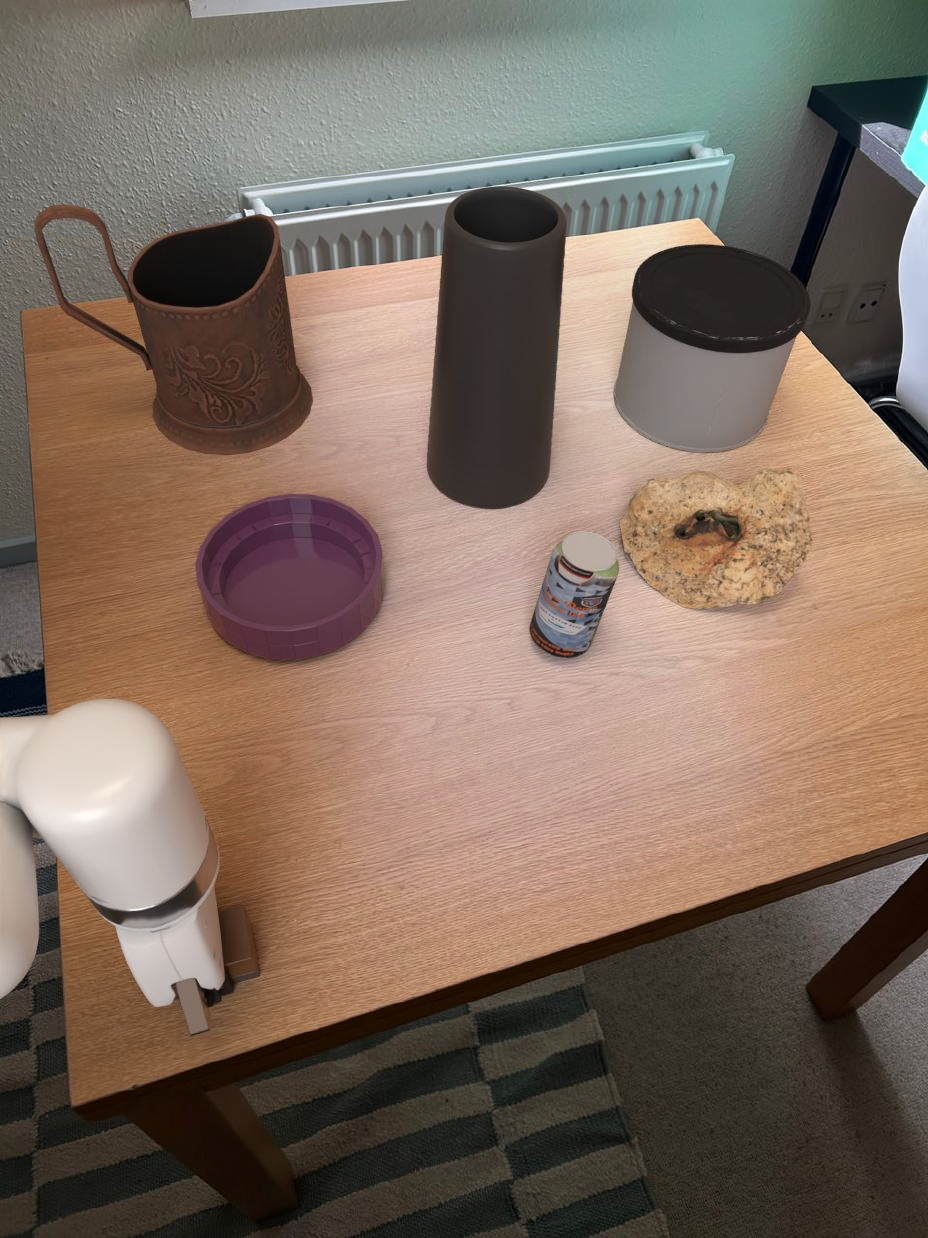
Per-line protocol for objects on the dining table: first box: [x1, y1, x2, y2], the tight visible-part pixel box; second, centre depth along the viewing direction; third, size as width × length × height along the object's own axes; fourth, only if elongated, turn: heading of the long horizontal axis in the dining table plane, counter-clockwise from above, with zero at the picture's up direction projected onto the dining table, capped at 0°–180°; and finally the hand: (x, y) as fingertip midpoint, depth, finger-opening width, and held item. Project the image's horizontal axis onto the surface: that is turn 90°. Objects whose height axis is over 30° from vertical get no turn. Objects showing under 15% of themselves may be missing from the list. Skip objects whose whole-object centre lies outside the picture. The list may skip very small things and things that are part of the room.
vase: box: [426, 186, 568, 510], centre depth 90 cm, size 14×14×29 cm
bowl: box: [195, 493, 385, 661], centre depth 88 cm, size 17×17×5 cm
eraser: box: [173, 904, 261, 1002], centre depth 66 cm, size 7×4×4 cm, turn 107°
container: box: [613, 243, 811, 453], centre depth 104 cm, size 19×19×15 cm
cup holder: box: [33, 204, 314, 456], centre depth 97 cm, size 18×24×25 cm
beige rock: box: [619, 466, 814, 610], centre depth 92 cm, size 18×14×8 cm
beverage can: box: [528, 530, 620, 659], centre depth 83 cm, size 6×7×12 cm
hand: (207, 961), depth 67 cm, fingers closed on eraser, 4 cm apart
